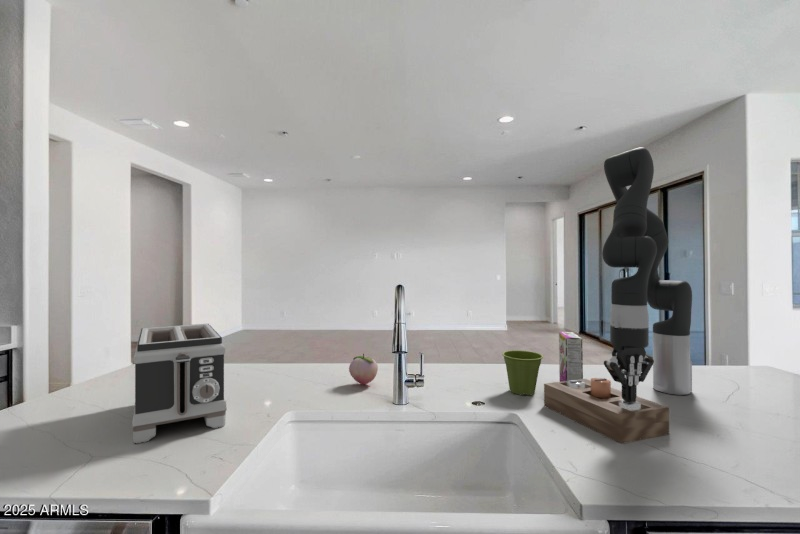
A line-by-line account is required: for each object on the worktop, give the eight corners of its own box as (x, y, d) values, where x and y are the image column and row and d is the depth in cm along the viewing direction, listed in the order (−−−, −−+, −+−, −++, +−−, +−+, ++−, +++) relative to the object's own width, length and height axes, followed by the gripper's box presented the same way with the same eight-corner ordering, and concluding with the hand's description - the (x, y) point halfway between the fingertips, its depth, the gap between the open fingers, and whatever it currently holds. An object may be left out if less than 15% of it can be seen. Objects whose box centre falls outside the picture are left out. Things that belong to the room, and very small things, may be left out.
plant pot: (499, 395, 113) (499, 356, 113) (504, 384, 124) (504, 349, 124) (542, 400, 109) (542, 360, 109) (544, 388, 120) (544, 352, 120)
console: (585, 400, 109) (585, 378, 109) (669, 434, 87) (668, 407, 87) (544, 405, 105) (544, 383, 105) (621, 443, 82) (621, 415, 82)
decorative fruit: (383, 383, 125) (383, 352, 125) (368, 390, 118) (368, 357, 118) (360, 379, 130) (360, 349, 130) (344, 385, 123) (344, 354, 123)
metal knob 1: (576, 392, 106) (576, 378, 106) (589, 397, 102) (589, 382, 102) (563, 394, 105) (563, 379, 105) (575, 399, 100) (575, 384, 100)
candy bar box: (558, 381, 127) (558, 331, 127) (574, 382, 126) (574, 331, 126) (565, 392, 116) (565, 337, 116) (583, 393, 115) (583, 337, 115)
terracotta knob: (600, 391, 99) (600, 376, 99) (615, 396, 94) (614, 380, 94) (586, 393, 97) (586, 377, 97) (600, 398, 93) (600, 382, 93)
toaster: (130, 454, 78) (130, 349, 78) (137, 404, 107) (137, 327, 107) (229, 433, 88) (229, 340, 88) (211, 392, 117) (211, 322, 117)
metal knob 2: (628, 413, 91) (628, 396, 91) (645, 420, 87) (645, 403, 87) (613, 416, 90) (613, 399, 90) (630, 423, 85) (630, 405, 85)
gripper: (635, 321, 94) (635, 393, 94) (593, 323, 90) (593, 398, 90) (666, 325, 87) (666, 403, 87) (621, 328, 83) (621, 410, 82)
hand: (629, 401), depth 88 cm, fingers closed
